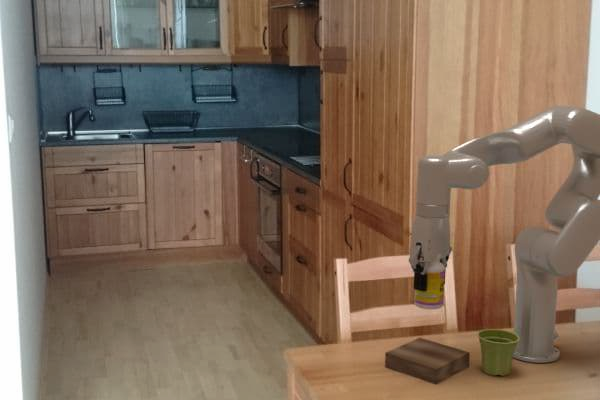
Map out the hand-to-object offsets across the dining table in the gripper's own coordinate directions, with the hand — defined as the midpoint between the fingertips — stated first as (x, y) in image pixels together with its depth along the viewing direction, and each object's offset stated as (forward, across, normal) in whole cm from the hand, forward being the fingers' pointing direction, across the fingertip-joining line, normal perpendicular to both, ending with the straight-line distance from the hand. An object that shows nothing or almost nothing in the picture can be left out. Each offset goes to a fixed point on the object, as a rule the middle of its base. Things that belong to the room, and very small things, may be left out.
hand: (429, 286), depth 174 cm
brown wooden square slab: (+20, 0, 0) cm, 20 cm away
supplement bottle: (+5, 0, 0) cm, 5 cm away
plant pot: (+20, -9, +13) cm, 25 cm away
